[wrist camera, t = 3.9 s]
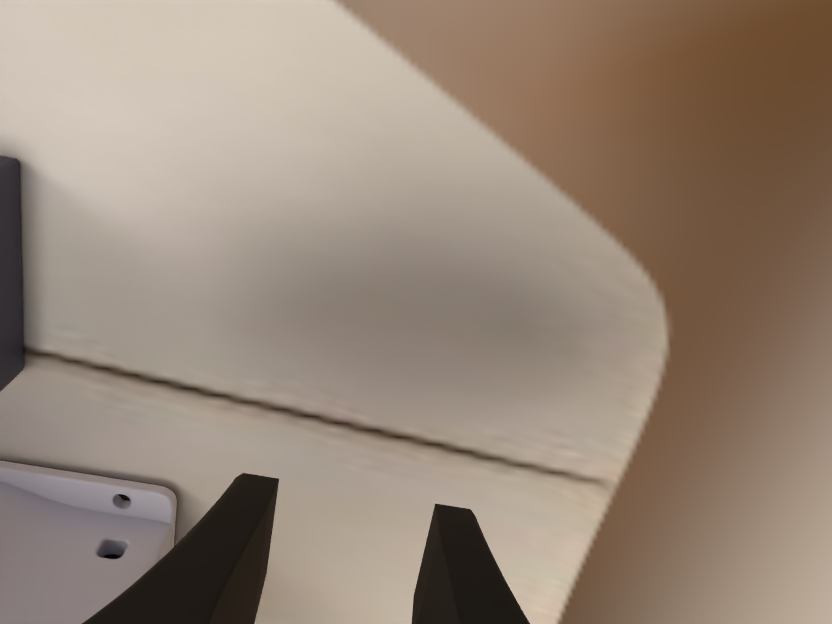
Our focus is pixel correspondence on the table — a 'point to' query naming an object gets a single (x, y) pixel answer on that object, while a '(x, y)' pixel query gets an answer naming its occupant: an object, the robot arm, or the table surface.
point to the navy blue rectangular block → (10, 273)
